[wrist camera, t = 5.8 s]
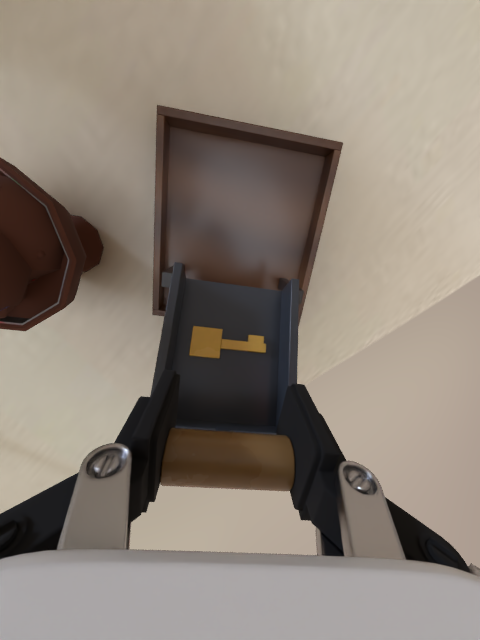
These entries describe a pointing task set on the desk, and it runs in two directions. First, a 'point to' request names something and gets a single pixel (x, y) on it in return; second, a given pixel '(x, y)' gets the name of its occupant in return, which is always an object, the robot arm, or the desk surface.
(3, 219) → the ice cream bowl
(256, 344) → the key
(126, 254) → the desk surface
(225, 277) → the tray
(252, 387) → the scoop
